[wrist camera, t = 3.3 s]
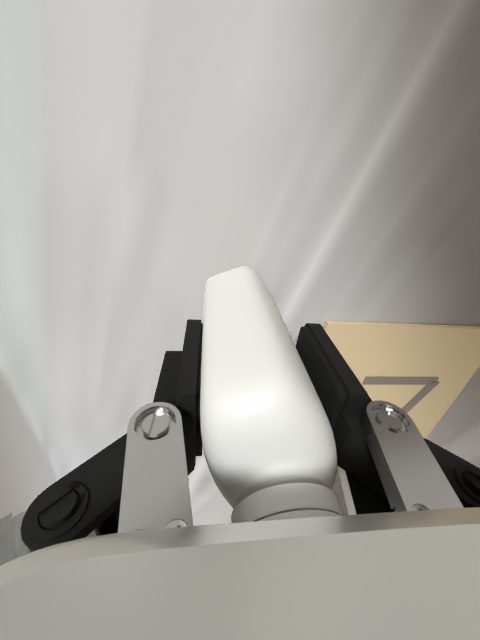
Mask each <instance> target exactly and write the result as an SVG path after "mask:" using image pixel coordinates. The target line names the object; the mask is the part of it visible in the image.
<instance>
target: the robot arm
mask: <svg viewBox="0 0 480 640" xmlns="http://www.w3.org/2000/svg"><path fill="white" fill-rule="evenodd" d="M202 333H203V323H201V320H187V327H186V333H185V339H184V345H183V351H166V353H165V356H164V360H163V365H162V369H161V373H160V377H159V381H158V385H157V389H156V393H155V397H154V401H153V403H150V404H147V405H145V406H143V407H141V408H140V409H139V410H137V411H136V412H135V413H134V414H133V416H132V417H131V419H130V421H129V425H128V431H127V434H125V435H124V436H122V437H121V438H119V439H118V440H116V441H115V442H113V443H112V444H111V445H109V446H108V447H106V448H105V449H103V450H102V451H100V452H99V453H97V454H96V455H95V456H93V457H92V458H90V459H89V460H87V461H86V462H84V463H83V464H81V465H80V466H79V467H77V468H76V469H74V470H73V471H71V472H70V473H68V474H67V475H65V476H64V477H63V478H61V479H60V480H58V481H57V482H55V483H54V484H52V485H51V486H49V487H48V488H47V489H46V490H44V491H43V492H42V493H41V494H40V495H38V497H37V498H36V499H35V500H34V501H33V502H32V504H31V505H30V506H29V508H28V509H27V510H25V511H23V512H22V513H20V514H18V515H16V516H14V515H13V514H12V513H11V514H9V515H7V516H5V517H3V518H1V519H0V640H480V468H478V467H476V466H474V465H473V464H471V463H469V462H467V461H465V460H464V459H462V458H460V457H458V456H456V455H454V454H453V453H451V452H449V451H447V450H445V449H443V448H442V447H440V446H438V445H436V444H434V443H433V442H431V441H429V440H427V439H425V438H423V437H422V435H421V433H420V432H419V430H418V428H417V427H416V425H415V423H414V421H413V420H412V419H411V417H410V416H409V415H408V414H407V413H406V412H405V411H404V410H402V409H401V408H399V407H398V406H396V405H394V404H392V403H389V402H386V401H382V400H375V401H372V400H371V398H370V397H369V395H368V393H367V392H366V390H365V389H364V387H363V386H362V384H361V383H360V381H359V380H358V378H357V377H356V376H355V374H354V373H353V371H352V370H351V368H350V367H349V365H348V364H347V362H346V361H345V359H344V358H343V356H342V355H341V354H340V352H339V351H338V349H337V348H336V346H335V345H334V343H333V342H332V340H331V339H330V337H329V336H328V334H327V333H326V331H325V330H324V329H323V327H322V326H321V324H311V323H307V324H305V326H304V327H301V329H300V332H299V336H298V340H297V344H296V349H297V351H298V354H299V356H300V358H301V360H302V362H303V364H304V367H305V369H306V371H307V373H308V375H309V377H310V379H311V382H312V384H313V386H314V388H315V390H316V393H317V395H318V397H319V399H320V401H321V404H322V406H323V408H324V410H325V413H326V415H327V417H328V420H329V423H330V425H331V428H332V431H333V435H334V440H335V444H336V452H337V466H338V472H339V476H340V480H341V485H342V489H343V493H344V497H345V502H346V506H347V510H348V514H349V515H342V516H327V517H313V518H298V519H284V520H270V521H256V522H242V523H229V524H215V525H202V526H193V520H192V510H191V501H190V492H189V482H188V475H189V474H190V473H191V472H192V471H193V470H194V466H195V459H196V456H202V437H201V424H200V390H201V359H202Z"/></svg>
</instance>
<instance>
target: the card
mask: <svg viewBox="0 0 480 640" xmlns="http://www.w3.org/2000/svg"><path fill="white" fill-rule="evenodd" d="M324 330H325V331H326V333H327V334H328V336H329V337H330V339H331V340H332V342H333V343H334V345H335V346H336V348H337V349H338V351H339V352H340V354H341V355H342V356H343V358H344V359H345V361H346V362H347V364H348V365H349V367H350V368H351V370H352V371H353V373H354V374H355V376H356V377H357V378H358V380H359V381H360V383H361V384H362V386H363V387H364V389H365V390H366V392H367V393H368V395H369V397H370V398H371V400H372V401H375V400H382V401H386V402H389V403H392V404H394V405H396V406H398V407H399V408H401V409H402V410H404V411H405V412H406V413H407V414H408V415H409V416H410V417H411V419H412V420H413V421H414V423H415V425H416V427H417V428H418V430H419V432H420V433H421V435H422V437H423V438H425V439H426V438H427V437H428V435H429V434H430V433H431V431H432V430H433V429H434V427H435V426H436V425H437V423H438V422H439V421H440V419H441V418H442V417H443V415H444V414H445V412H446V411H447V410H448V408H449V407H450V406H451V404H452V403H453V402H454V400H455V399H456V398H457V396H458V395H459V394H460V392H461V391H462V390H463V388H464V387H465V386H466V384H467V383H468V382H469V380H470V379H471V378H472V376H473V375H474V373H475V372H476V371H477V369H478V368H479V367H480V326H459V325H431V324H403V323H375V322H347V321H326V322H325V326H324ZM337 469H338V466H337Z"/></svg>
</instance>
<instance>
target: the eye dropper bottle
mask: <svg viewBox="0 0 480 640" xmlns="http://www.w3.org/2000/svg"><path fill="white" fill-rule="evenodd" d="M200 424H201V437H202V444H203V449H204V454H205V458H206V461H207V464H208V467H209V470H210V472H211V474H212V477H213V479H214V481H215V483H216V485H217V487H218V488H219V490H220V492H221V493H222V495H223V496H224V498H225V499H226V500H227V501H228V503H229V504H230V505H231V506H232V508H233V509H234V510H233V512H232V515H231V521H232V523H242V522H256V521H270V520H284V519H298V518H313V517H327V516H342V515H344V514H343V511H342V509H341V506H340V503H339V501H338V498H337V496H336V494H335V493H334V492H333V491H332V490H331V489H332V486H333V484H334V481H335V477H336V471H337V452H336V444H335V440H334V435H333V431H332V428H331V425H330V423H329V420H328V417H327V415H326V413H325V410H324V408H323V406H322V404H321V401H320V399H319V397H318V395H317V393H316V390H315V388H314V386H313V384H312V382H311V379H310V377H309V375H308V373H307V371H306V369H305V367H304V364H303V362H302V360H301V358H300V356H299V354H298V351H297V349H296V347H295V345H294V343H293V341H292V339H291V336H290V334H289V332H288V330H287V328H286V326H285V324H284V321H283V319H282V317H281V315H280V313H279V311H278V309H277V306H276V304H275V302H274V300H273V298H272V296H271V294H270V292H269V290H268V289H267V287H266V285H265V284H264V282H263V281H262V280H261V278H260V277H259V276H258V275H257V274H256V273H255V271H254V270H253V269H251V268H249V267H238V268H235V269H232V270H228V271H225V272H222V273H219V274H216V275H214V276H212V277H210V278H209V279H208V280H207V282H206V284H205V291H204V311H203V333H202V359H201V390H200Z"/></svg>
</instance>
